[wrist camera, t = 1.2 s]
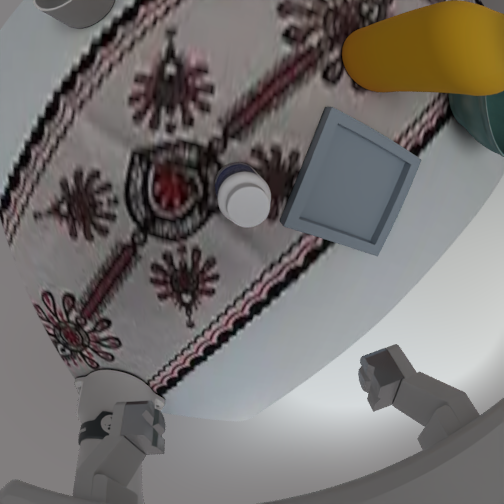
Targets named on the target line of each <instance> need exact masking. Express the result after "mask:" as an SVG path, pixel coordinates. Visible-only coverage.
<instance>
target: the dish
mask: <svg viewBox="0 0 504 504" xmlns="http://www.w3.org/2000/svg"><path fill="white" fill-rule="evenodd" d="M420 162H421V159H419V158H418V157H417V156H415V155H414V154H412V153H411V152H409V151H408V150H406V149H405V148H403V147H401V146H400V145H398V144H397V143H395V142H394V141H392V140H390V139H389V138H387V137H385V136H384V135H382V134H380V133H379V132H377V131H375V130H374V129H372V128H370V127H368V126H367V125H365V124H363V123H361V122H360V121H358V120H356V119H354V118H352V117H350V116H348V115H346V114H345V113H343V112H341V111H339V110H337V109H335V108H333V107H325V109H324V112H323V114H322V117H321V119H320V122H319V124H318V127H317V130H316V132H315V135H314V137H313V140H312V142H311V145H310V147H309V150H308V152H307V155H306V157H305V160H304V162H303V165H302V167H301V170H300V172H299V175H298V177H297V180H296V182H295V185H294V187H293V189H292V192H291V194H290V197H289V199H288V202H287V204H286V207H285V209H284V212H283V214H282V216H281V219H280V222H281V223H282V225H283V226H284V227H287V228H291V229H294V230H297V231H300V232H304V233H307V234H310V235H313V236H316V237H320V238H323V239H326V240H329V241H332V242H335V243H338V244H342V245H345V246H348V247H351V248H354V249H357V250H360V251H363V252H366V253H369V254H372V255H375V256H378V255H379V253H380V251H381V249H382V247H383V245H384V243H385V241H386V239H387V237H388V235H389V233H390V231H391V229H392V226H393V224H394V222H395V220H396V218H397V216H398V214H399V211H400V209H401V207H402V205H403V203H404V200H405V198H406V196H407V194H408V191H409V189H410V187H411V184H412V182H413V179H414V177H415V175H416V172H417V170H418V167H419V165H420Z"/></svg>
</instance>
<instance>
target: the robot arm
mask: <svg viewBox="0 0 504 504" xmlns="http://www.w3.org/2000/svg"><path fill="white" fill-rule="evenodd" d="M360 363H361V365H362V366H361V368H360V369H359V373H358V375H359V381H360V384H361V387H362V389H363V390H364V391H365V392H367V393H369V394H368V398H367V399H368V402H369V404H370V406H371V408H372V409H373V411H376V410H379V409H382V408H384V407H387V406H390V405H392V404H393V406H394V407H395V408H397V409H398V410H400V411H401V412H403V413H405V414H406V415H407V416H409V417H411V418H412V419H414V420H415V421H417V422H418V423H420V424H421V425H423V426H425V428H424V429H423V431H422V432H421V434H420V435H419V437H418V441H419V443H420V445H421V447H422V449H423V450H422V451H421V452H418V453H417V454H415V455H413V456H411V457H408V458H406V459H404V460H402V461H400V462H398V463H395V464H393V465H391V466H389V467H386V468H384V469H382V470H379V471H377V472H374V473H372V474H369V475H367V476H364V477H361V478H358V479H355V480H352V481H349V482H346V483H343V484H340V485H337V486H334V487H331V488H327V489H324V490H320V491H316V492H312V493H309V494H304V495H300V496H296V497H291V498H286V499H282V500H276V501H270V502H264V503H258V504H504V398H503V399H501V400H500V401H499V402H498V403H496V404H495V405H494V406H492V407H491V408H490V409H488V410H487V411H486V412H484V413H483V414H481V415H479V413H478V412H477V410H476V409H475V407H474V406H473V404H472V402H471V401H470V399H469V398H468V396H467V395H466V393H465V392H463V391H460V390H458V389H456V388H454V387H451V386H450V385H447V384H445V383H443V382H441V381H439V380H436V379H434V378H432V377H430V376H428V375H425V374H424V373H421V372H418V373H416V371H415V369H414V368H413V366H412V365H411V363H410V362H409V360H408V359H407V357H406V356H405V354H404V353H403V352H402V350H401V349H400V347H399V346H398V345H397V344H395V345H392V346H390V347H387V348H385V349H381V350H378V351H376V352H373V353H370V354H367V355H365V356H362V357H361V359H360ZM75 386H76V388H77V391H78V393H79V399H78V404H77V410H76V415H77V416H78V419H79V420H80V422H81V423H82V425H81V429H80V432H79V445H80V449H79V455H78V461H77V469H76V476H75V483H74V490H73V496H69V495H65V494H61V493H57V492H54V491H50V490H47V489H44V488H40V487H37V486H34V485H31V484H28V483H26V482H23V481H20V480H16V479H15V480H11V481H10V482H9V483H7V484H6V485H5V486H4V487H3V488H2V489H1V490H0V504H145V503H144V499H143V492H142V461H143V460H144V458H145V456H146V455H149V454H164V444H165V440H164V439H163V438H162V434H163V433H164V432H165V421H164V417H163V415H162V413H161V412H160V411H161V410H162V409H163V407H164V406H165V400H164V399H163V398H162V397H160V396H158V395H157V394H155V393H154V392H153V391H152V390H151V388H150V387H149V386H148V385H147V384H145V383H144V382H143V381H141V380H140V379H138V378H136V377H134V376H132V375H129V374H126V373H123V372H119V371H114V370H99V371H95V372H92V373H90V374H89V375H88V376H86V377H80V378H76V379H75Z"/></svg>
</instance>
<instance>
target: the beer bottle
mask: <svg viewBox="0 0 504 504" xmlns="http://www.w3.org/2000/svg"><path fill="white" fill-rule="evenodd" d="M342 59H343V63H344V66H345V68H346V71H347V72H348V74H349V75H350V77H351V78H352V79H353V80H354V81H355V82H356V83H357V84H358V85H360V86H362V87H363V88H365V89H368V90H370V91H375V92H395V91H413V92H440V93H455V94H466V95H473V96H485V95H492V94H497V93H500V92H502V91H504V14H502V13H499V12H496V11H494V10H491V9H489V8H486V7H484V6H481V5H478V4H474V3H470V2H466V1H445V2H440V3H436V4H433V5H429V6H426V7H422V8H419V9H415V10H412V11H409V12H406V13H403V14H400V15H397V16H394V17H391V18H388V19H385V20H382V21H380V22H377V23H374V24H372V25H369V26H366V27H363V28H360V29H358V30H356V31H354V32H353V33H351V34H350V35H349V36H348V37H347V39H346V40H345V42H344V45H343V48H342Z"/></svg>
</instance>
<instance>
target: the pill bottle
mask: <svg viewBox="0 0 504 504" xmlns="http://www.w3.org/2000/svg"><path fill="white" fill-rule="evenodd" d="M215 190H216V196H217V201H218V205H219V208H220V210H221V212H222V214H223V215H224V216H225V217H226V218H228V219H229V220H231V221H233V222H234V223H235V224H237V225H239V226H241V227H254V226H257V225H259V224H261V223H262V222H263V221H264V220H265V219H266V217H267V216H268V214H269V211H270V202H271V192H270V189H269V187H268V185H267V183H266V182H265V181H264V179H263V178H262V177H261V176H260V175H259V174H258V173H257V172H256V171H255V170H254V169H253V168H252V167H251V166H249V165H248V164H245V163H242V162H233V163H229V164H227V165H225V166H224V167H223V168H222V169H221V170H220V171H219V172H218V174H217V176H216V179H215Z"/></svg>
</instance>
